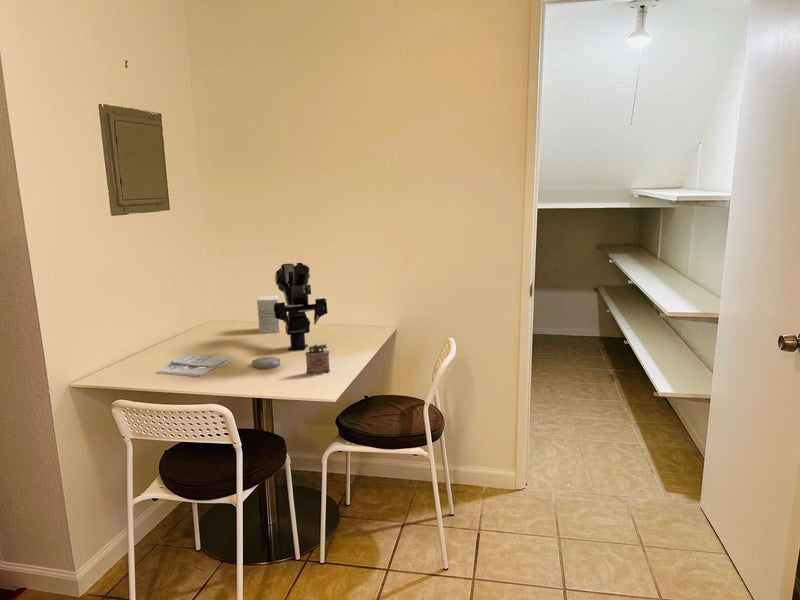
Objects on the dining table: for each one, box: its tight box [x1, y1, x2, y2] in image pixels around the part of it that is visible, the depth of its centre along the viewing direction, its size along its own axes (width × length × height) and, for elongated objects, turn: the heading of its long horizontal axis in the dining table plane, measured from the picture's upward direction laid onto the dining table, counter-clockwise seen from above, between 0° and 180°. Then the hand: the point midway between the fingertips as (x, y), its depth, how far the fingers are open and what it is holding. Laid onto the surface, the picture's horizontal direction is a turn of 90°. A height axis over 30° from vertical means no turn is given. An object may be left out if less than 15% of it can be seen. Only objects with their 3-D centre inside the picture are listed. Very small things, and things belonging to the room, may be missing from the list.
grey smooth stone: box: [251, 356, 281, 370], centre depth 216 cm, size 10×10×2 cm
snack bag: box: [156, 354, 232, 378], centre depth 216 cm, size 19×20×2 cm
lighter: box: [305, 343, 331, 375], centre depth 206 cm, size 8×3×10 cm, turn 101°
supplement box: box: [256, 295, 281, 334], centre depth 264 cm, size 9×9×15 cm
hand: (301, 324), depth 210 cm, fingers open, 9 cm apart
